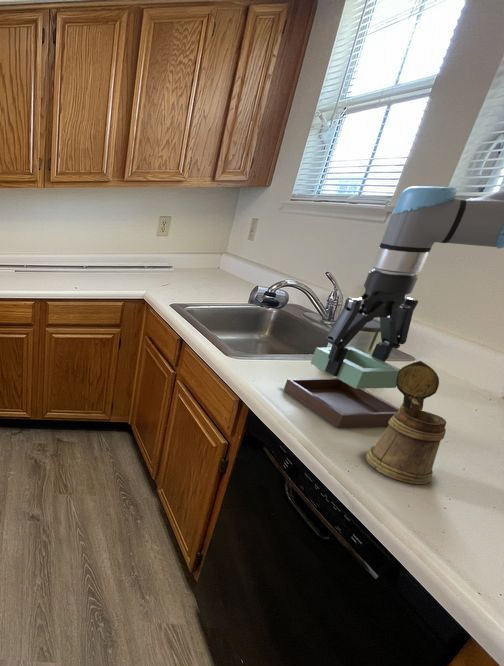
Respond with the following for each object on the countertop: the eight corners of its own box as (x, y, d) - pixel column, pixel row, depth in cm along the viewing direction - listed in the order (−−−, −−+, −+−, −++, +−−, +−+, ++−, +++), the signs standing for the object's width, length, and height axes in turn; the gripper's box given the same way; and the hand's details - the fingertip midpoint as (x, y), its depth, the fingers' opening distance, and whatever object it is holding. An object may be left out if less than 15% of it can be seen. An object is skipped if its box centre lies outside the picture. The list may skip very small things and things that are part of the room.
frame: (395, 387, 87) (404, 370, 86) (355, 388, 87) (363, 371, 85) (346, 362, 99) (352, 346, 97) (310, 363, 98) (316, 347, 97)
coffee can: (316, 360, 121) (333, 313, 114) (359, 366, 117) (379, 318, 111) (323, 373, 112) (342, 324, 106) (370, 381, 108) (393, 330, 102)
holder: (401, 425, 89) (407, 413, 88) (337, 427, 88) (342, 415, 87) (338, 388, 104) (343, 377, 103) (283, 390, 103) (287, 378, 102)
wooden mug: (408, 447, 82) (452, 364, 74) (438, 490, 71) (494, 398, 63) (353, 436, 85) (389, 356, 77) (374, 475, 74) (418, 386, 66)
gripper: (426, 267, 87) (382, 365, 97) (328, 267, 85) (293, 366, 95) (464, 275, 80) (412, 379, 90) (358, 275, 79) (317, 381, 89)
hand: (351, 373), depth 93 cm, fingers closed on frame, 9 cm apart
